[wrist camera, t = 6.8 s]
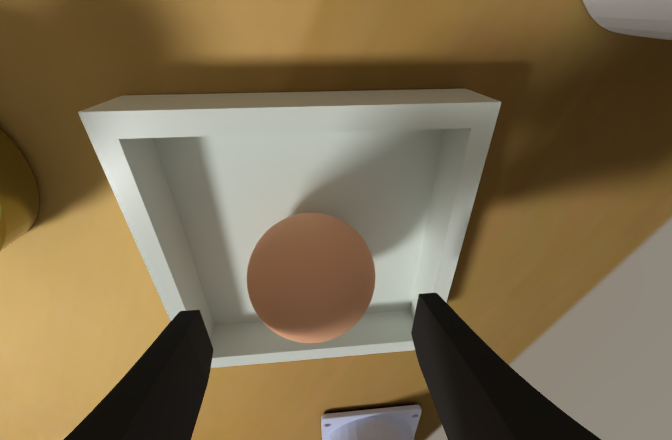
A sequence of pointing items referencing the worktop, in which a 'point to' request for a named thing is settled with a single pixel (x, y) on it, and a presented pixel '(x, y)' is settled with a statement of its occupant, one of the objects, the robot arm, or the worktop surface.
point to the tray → (294, 197)
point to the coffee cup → (633, 17)
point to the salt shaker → (15, 193)
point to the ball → (311, 277)
